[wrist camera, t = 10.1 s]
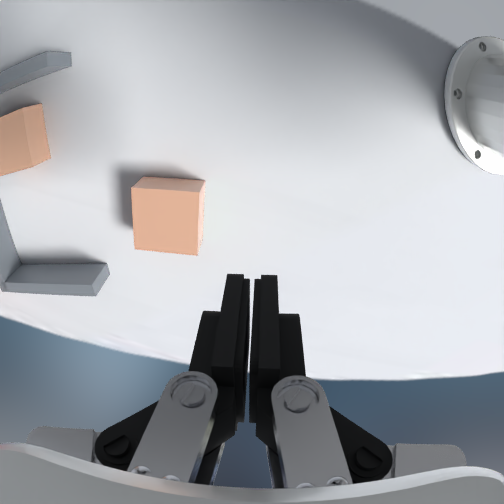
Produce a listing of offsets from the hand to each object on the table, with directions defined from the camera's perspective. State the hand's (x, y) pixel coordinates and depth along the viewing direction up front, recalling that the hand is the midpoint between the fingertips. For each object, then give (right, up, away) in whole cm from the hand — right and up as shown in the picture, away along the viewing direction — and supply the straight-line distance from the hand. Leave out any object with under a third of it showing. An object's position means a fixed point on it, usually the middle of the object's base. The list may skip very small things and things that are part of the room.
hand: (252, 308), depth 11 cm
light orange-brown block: (-20, +12, +10) cm, 26 cm away
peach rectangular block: (-6, +6, +14) cm, 16 cm away
